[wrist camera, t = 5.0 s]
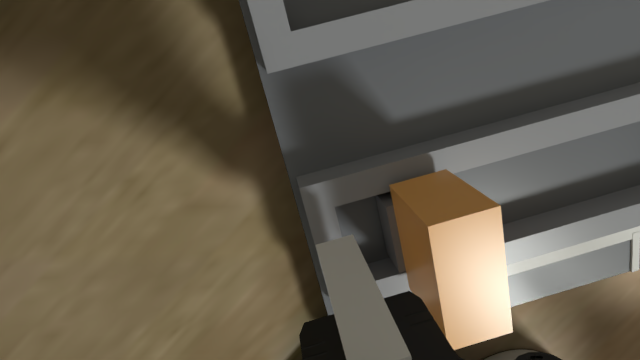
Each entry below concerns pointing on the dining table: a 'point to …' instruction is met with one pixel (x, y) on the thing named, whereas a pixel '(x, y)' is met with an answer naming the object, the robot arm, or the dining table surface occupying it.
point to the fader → (450, 254)
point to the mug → (509, 354)
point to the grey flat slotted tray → (462, 123)
